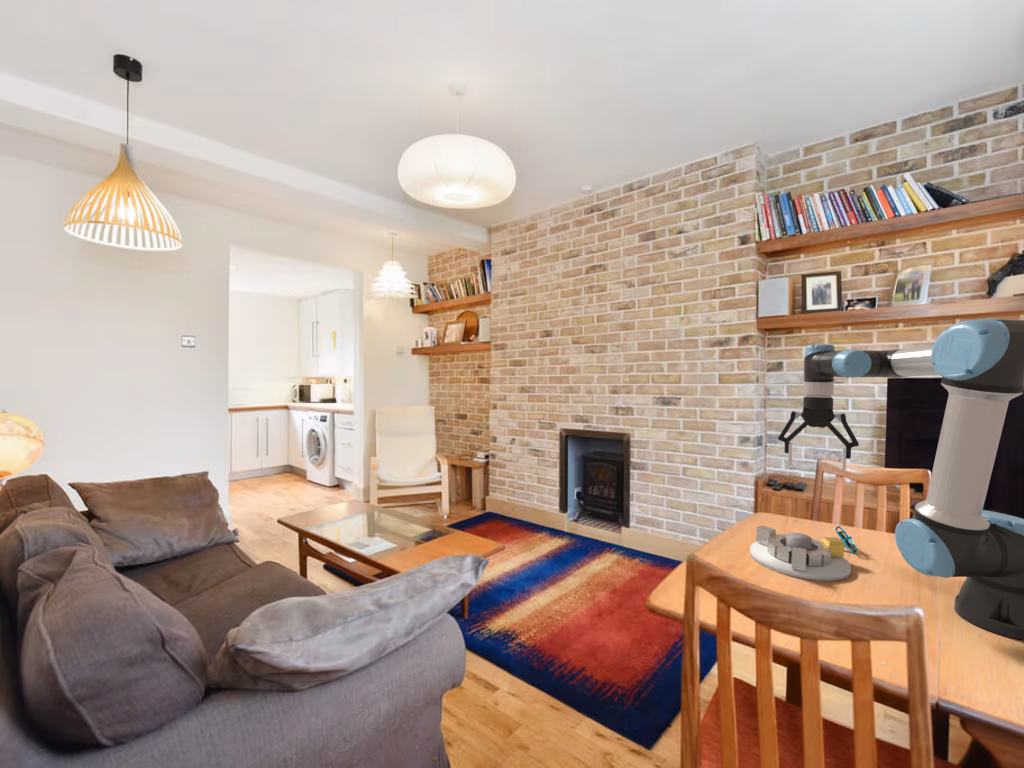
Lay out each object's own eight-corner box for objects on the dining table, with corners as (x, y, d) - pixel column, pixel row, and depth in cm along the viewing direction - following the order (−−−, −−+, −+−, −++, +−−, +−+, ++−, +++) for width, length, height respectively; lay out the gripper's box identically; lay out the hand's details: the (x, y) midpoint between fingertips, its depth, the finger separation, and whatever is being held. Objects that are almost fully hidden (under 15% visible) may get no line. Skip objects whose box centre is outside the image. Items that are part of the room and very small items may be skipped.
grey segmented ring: (868, 572, 121) (868, 555, 120) (793, 571, 121) (794, 554, 121) (815, 540, 142) (816, 525, 142) (752, 539, 142) (752, 525, 142)
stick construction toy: (862, 550, 134) (843, 524, 137) (838, 561, 136) (819, 535, 139) (857, 548, 144) (839, 524, 147) (834, 558, 146) (817, 534, 149)
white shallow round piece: (873, 581, 119) (874, 554, 119) (778, 580, 120) (779, 553, 119) (814, 544, 143) (815, 522, 143) (735, 543, 144) (735, 521, 143)
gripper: (869, 397, 137) (867, 469, 137) (772, 394, 151) (770, 459, 151) (871, 398, 130) (869, 474, 131) (769, 395, 144) (767, 463, 145)
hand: (816, 466), depth 141 cm, fingers open, 13 cm apart
